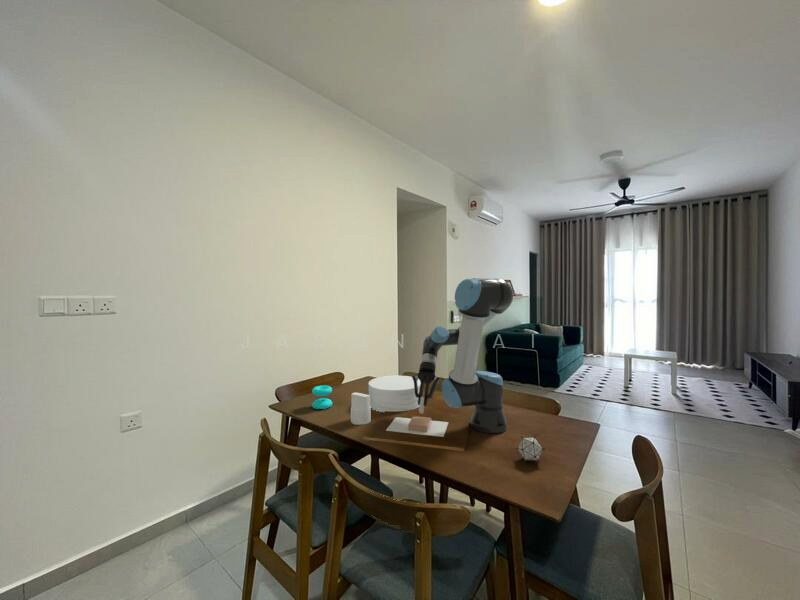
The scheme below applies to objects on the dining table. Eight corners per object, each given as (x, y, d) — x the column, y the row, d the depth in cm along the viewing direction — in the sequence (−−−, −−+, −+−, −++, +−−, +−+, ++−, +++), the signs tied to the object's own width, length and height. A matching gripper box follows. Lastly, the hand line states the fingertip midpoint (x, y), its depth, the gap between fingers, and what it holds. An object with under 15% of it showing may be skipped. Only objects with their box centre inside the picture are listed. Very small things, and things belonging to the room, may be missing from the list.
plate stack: (405, 418, 153) (404, 393, 153) (357, 407, 168) (357, 385, 167) (431, 400, 177) (431, 379, 176) (388, 392, 191) (388, 373, 191)
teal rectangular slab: (431, 417, 143) (427, 426, 134) (431, 423, 143) (427, 432, 134) (413, 416, 145) (408, 424, 137) (413, 421, 145) (408, 430, 137)
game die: (531, 468, 115) (542, 441, 118) (541, 472, 107) (553, 443, 110) (508, 454, 117) (519, 427, 120) (516, 456, 109) (528, 428, 112)
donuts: (308, 387, 168) (324, 383, 175) (308, 407, 168) (325, 402, 175) (319, 391, 161) (336, 387, 168) (319, 412, 161) (336, 406, 168)
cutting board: (448, 424, 144) (448, 422, 144) (443, 439, 130) (443, 436, 130) (395, 419, 151) (395, 417, 151) (385, 432, 136) (385, 430, 136)
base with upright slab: (374, 419, 151) (374, 393, 151) (361, 426, 143) (361, 399, 143) (359, 415, 156) (359, 390, 156) (346, 421, 148) (346, 395, 148)
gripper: (442, 370, 158) (437, 417, 142) (416, 368, 162) (407, 414, 146) (440, 361, 153) (434, 409, 137) (413, 360, 157) (404, 406, 141)
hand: (420, 412), depth 142 cm, fingers closed
